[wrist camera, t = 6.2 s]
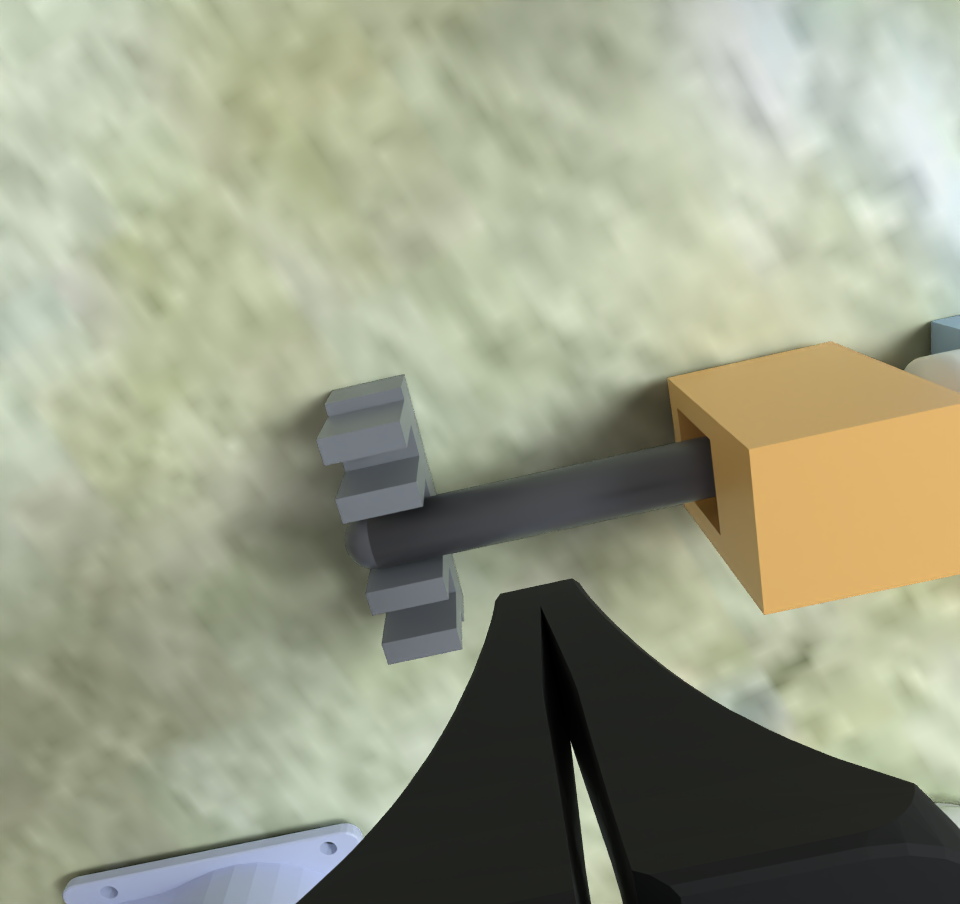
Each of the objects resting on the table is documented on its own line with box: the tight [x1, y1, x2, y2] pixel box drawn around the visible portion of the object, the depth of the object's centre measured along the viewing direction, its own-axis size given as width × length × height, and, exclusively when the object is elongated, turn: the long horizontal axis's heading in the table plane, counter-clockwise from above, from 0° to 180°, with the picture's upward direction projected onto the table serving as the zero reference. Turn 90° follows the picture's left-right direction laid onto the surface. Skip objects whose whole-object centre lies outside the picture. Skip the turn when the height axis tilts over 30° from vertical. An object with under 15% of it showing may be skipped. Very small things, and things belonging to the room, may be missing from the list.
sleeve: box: [667, 342, 960, 615], centre depth 15 cm, size 4×4×5 cm
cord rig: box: [316, 315, 960, 665], centre depth 17 cm, size 18×6×3 cm, turn 102°
